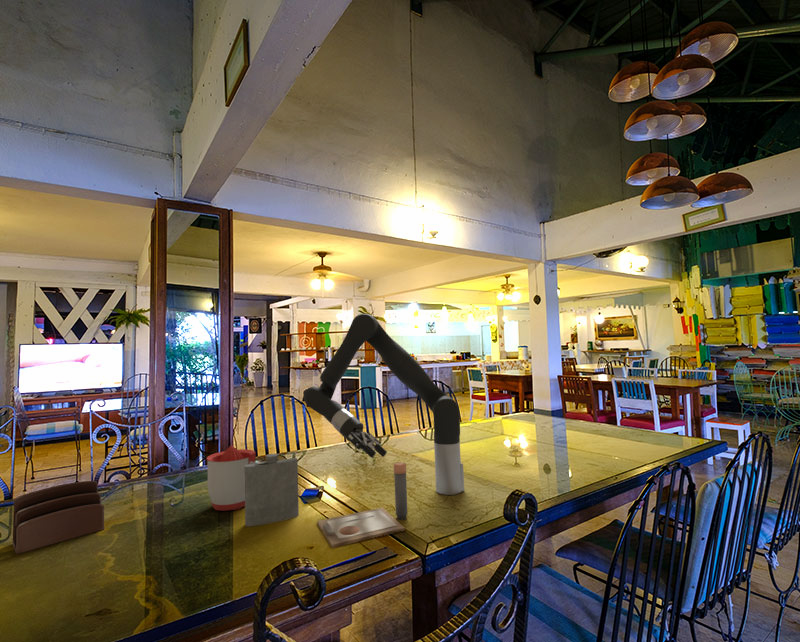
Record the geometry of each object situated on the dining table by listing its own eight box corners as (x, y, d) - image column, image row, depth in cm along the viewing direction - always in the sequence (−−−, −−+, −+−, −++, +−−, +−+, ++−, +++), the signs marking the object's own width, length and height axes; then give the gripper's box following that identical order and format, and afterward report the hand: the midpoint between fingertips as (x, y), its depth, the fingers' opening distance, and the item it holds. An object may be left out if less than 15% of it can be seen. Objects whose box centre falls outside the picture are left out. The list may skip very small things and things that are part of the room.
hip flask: (297, 512, 134) (296, 449, 135) (300, 517, 130) (298, 452, 131) (244, 523, 127) (243, 456, 128) (246, 528, 123) (245, 459, 125)
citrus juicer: (251, 513, 135) (250, 450, 136) (197, 515, 135) (197, 452, 136) (267, 496, 150) (266, 439, 152) (219, 497, 151) (219, 441, 152)
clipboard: (382, 510, 133) (382, 505, 134) (404, 530, 118) (404, 524, 118) (317, 523, 125) (316, 518, 125) (332, 547, 109) (331, 541, 109)
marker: (404, 514, 129) (402, 461, 130) (410, 518, 126) (408, 464, 127) (393, 516, 128) (391, 463, 129) (398, 521, 124) (396, 466, 125)
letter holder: (12, 544, 119) (13, 493, 120) (97, 521, 133) (97, 476, 134) (15, 555, 112) (16, 501, 113) (104, 530, 126) (104, 482, 127)
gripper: (342, 414, 140) (376, 446, 132) (362, 416, 153) (394, 445, 145) (330, 433, 140) (363, 465, 133) (351, 433, 153) (382, 463, 145)
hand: (379, 454), depth 139 cm, fingers open, 8 cm apart
